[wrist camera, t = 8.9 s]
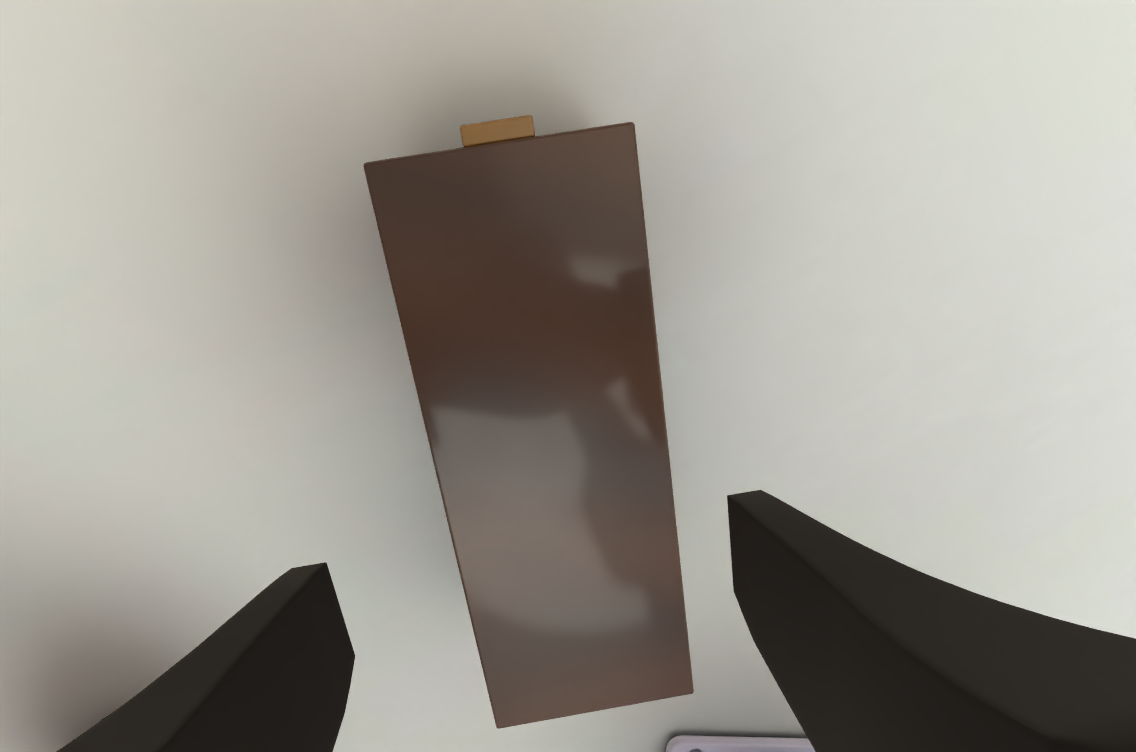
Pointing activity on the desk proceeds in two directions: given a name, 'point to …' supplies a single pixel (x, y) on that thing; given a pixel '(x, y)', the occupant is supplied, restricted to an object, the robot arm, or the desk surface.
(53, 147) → the desk surface
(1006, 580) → the desk surface
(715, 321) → the desk surface
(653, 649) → the pencil box
